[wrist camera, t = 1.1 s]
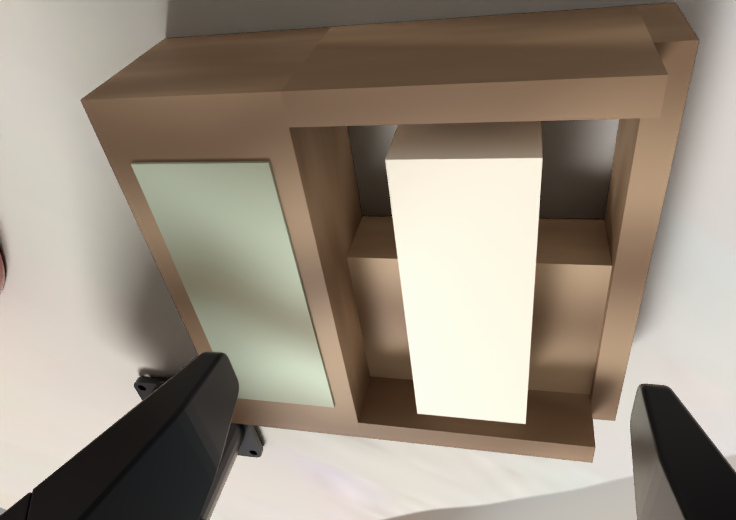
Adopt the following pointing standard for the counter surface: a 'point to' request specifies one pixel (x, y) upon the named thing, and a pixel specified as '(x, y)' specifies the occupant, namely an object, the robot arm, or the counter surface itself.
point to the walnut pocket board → (376, 234)
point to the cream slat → (467, 261)
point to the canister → (2, 275)
